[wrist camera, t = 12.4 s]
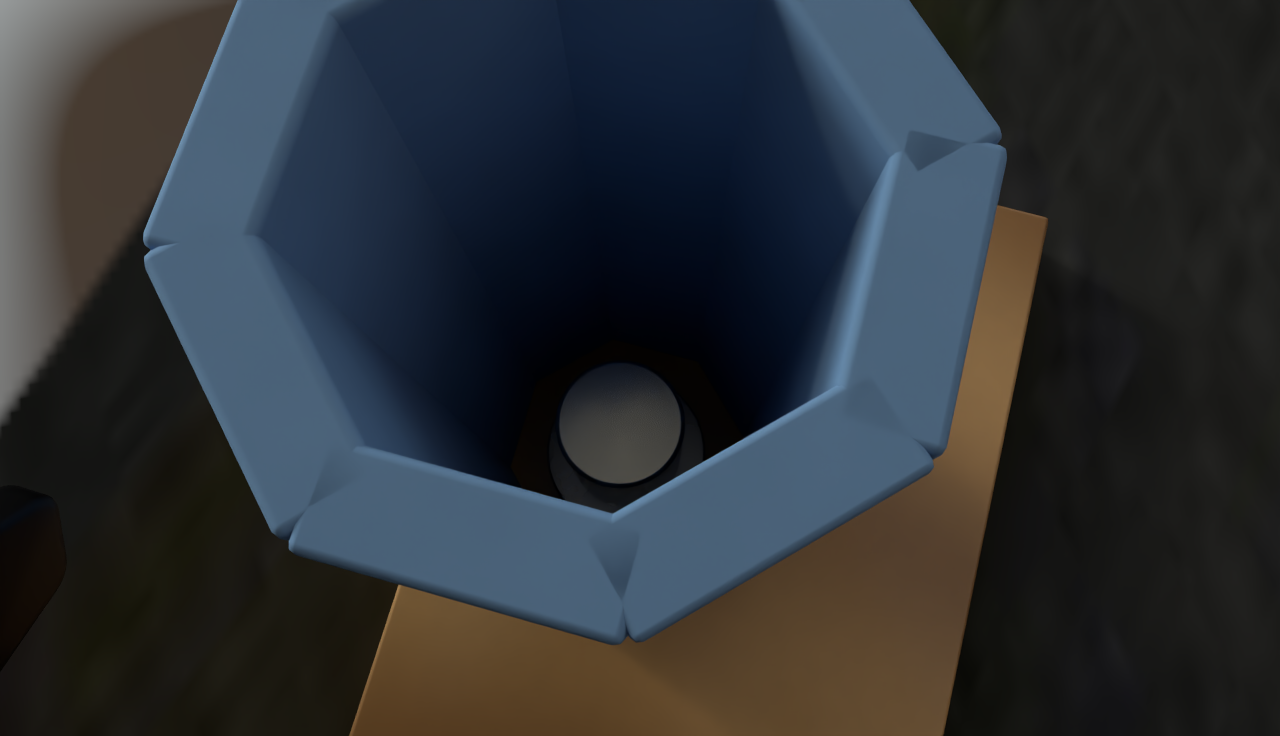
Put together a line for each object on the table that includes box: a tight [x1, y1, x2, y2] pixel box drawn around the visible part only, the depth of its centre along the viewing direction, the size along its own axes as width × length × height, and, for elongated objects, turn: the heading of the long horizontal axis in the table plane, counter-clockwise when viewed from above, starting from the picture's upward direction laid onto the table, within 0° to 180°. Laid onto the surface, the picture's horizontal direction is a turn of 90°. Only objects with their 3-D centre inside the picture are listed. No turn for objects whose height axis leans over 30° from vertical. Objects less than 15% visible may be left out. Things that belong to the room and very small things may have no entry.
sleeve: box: [143, 0, 1007, 645], centre depth 12 cm, size 5×5×11 cm
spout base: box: [349, 205, 1048, 736], centre depth 16 cm, size 12×9×4 cm
